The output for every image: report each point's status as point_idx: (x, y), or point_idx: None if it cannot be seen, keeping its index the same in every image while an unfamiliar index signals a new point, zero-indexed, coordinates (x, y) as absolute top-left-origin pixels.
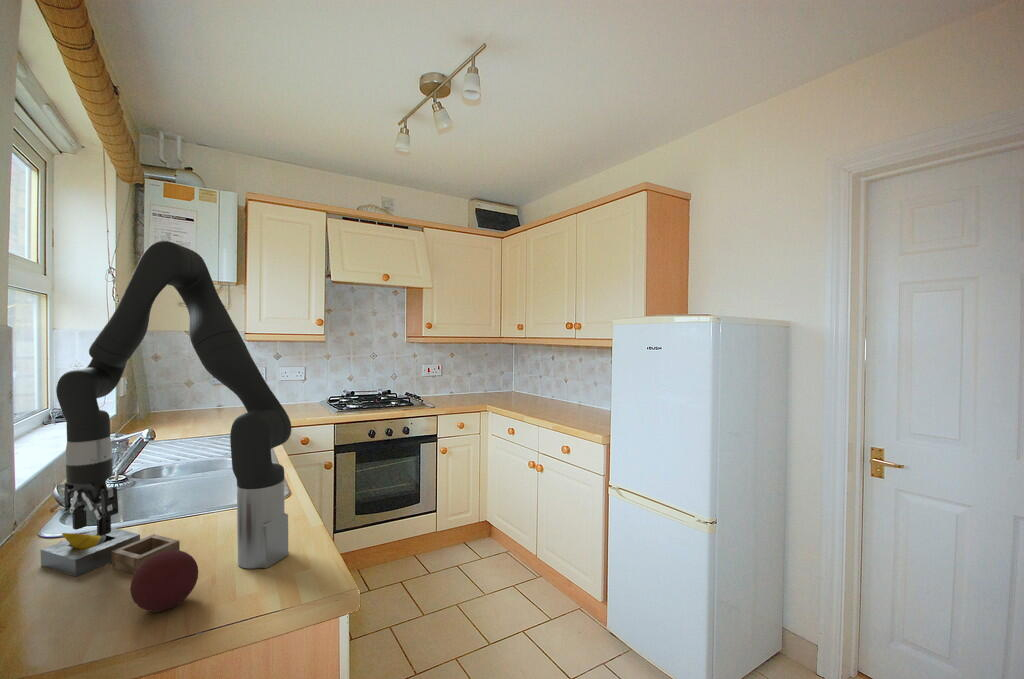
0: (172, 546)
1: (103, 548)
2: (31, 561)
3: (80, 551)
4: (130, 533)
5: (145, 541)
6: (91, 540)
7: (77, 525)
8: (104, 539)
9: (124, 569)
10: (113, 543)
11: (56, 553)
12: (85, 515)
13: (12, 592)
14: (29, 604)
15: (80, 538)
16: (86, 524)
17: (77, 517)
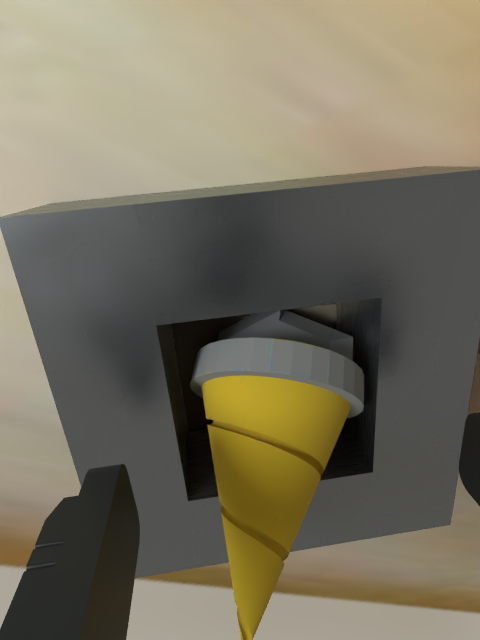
0: None
1: (464, 409)
2: (25, 509)
3: (366, 485)
4: (404, 196)
5: None
6: (332, 442)
7: (133, 546)
8: (350, 365)
9: None
10: (452, 347)
11: None
12: (96, 570)
13: (301, 588)
14: (447, 575)
15: (305, 511)
16: (119, 468)
17: (115, 638)
